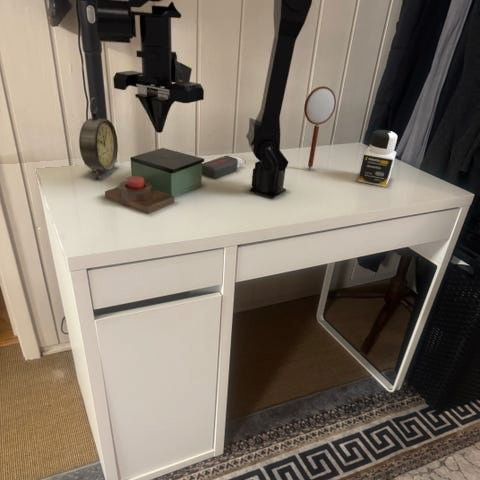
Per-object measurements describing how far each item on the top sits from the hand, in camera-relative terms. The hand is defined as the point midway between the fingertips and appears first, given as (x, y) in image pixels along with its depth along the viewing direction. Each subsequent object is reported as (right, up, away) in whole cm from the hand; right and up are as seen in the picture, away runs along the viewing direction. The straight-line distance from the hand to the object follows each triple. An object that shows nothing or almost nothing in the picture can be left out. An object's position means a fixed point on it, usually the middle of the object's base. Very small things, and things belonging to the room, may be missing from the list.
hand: (159, 132), depth 96 cm
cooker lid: (+1, -4, +6) cm, 7 cm away
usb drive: (+12, -2, +20) cm, 24 cm away
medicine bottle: (+51, -3, +24) cm, 56 cm away
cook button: (-5, -12, -1) cm, 13 cm away
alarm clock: (-16, -5, +13) cm, 21 cm away
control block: (-4, -14, +1) cm, 15 cm away
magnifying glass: (+35, +1, +27) cm, 44 cm away
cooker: (0, -8, +10) cm, 13 cm away
